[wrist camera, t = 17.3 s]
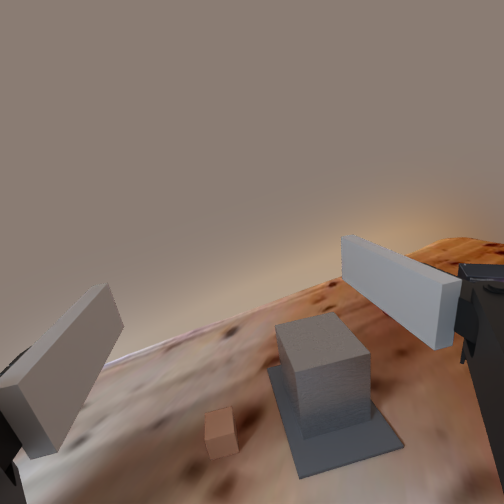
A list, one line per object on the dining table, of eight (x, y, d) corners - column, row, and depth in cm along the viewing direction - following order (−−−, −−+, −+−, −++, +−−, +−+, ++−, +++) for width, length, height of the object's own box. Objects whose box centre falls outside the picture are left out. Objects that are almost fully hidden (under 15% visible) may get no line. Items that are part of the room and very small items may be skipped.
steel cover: (303, 440, 34) (294, 372, 30) (283, 382, 44) (274, 325, 40) (370, 421, 35) (370, 353, 31) (336, 368, 45) (333, 311, 41)
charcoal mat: (299, 479, 30) (299, 477, 30) (267, 370, 47) (267, 368, 47) (403, 447, 32) (403, 445, 32) (336, 352, 49) (336, 351, 49)
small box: (459, 320, 52) (465, 275, 49) (452, 304, 57) (457, 262, 54) (530, 328, 47) (542, 278, 44) (514, 309, 53) (524, 264, 49)
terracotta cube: (210, 460, 34) (204, 440, 33) (210, 432, 38) (204, 413, 36) (239, 452, 34) (234, 432, 33) (236, 425, 38) (231, 406, 37)
